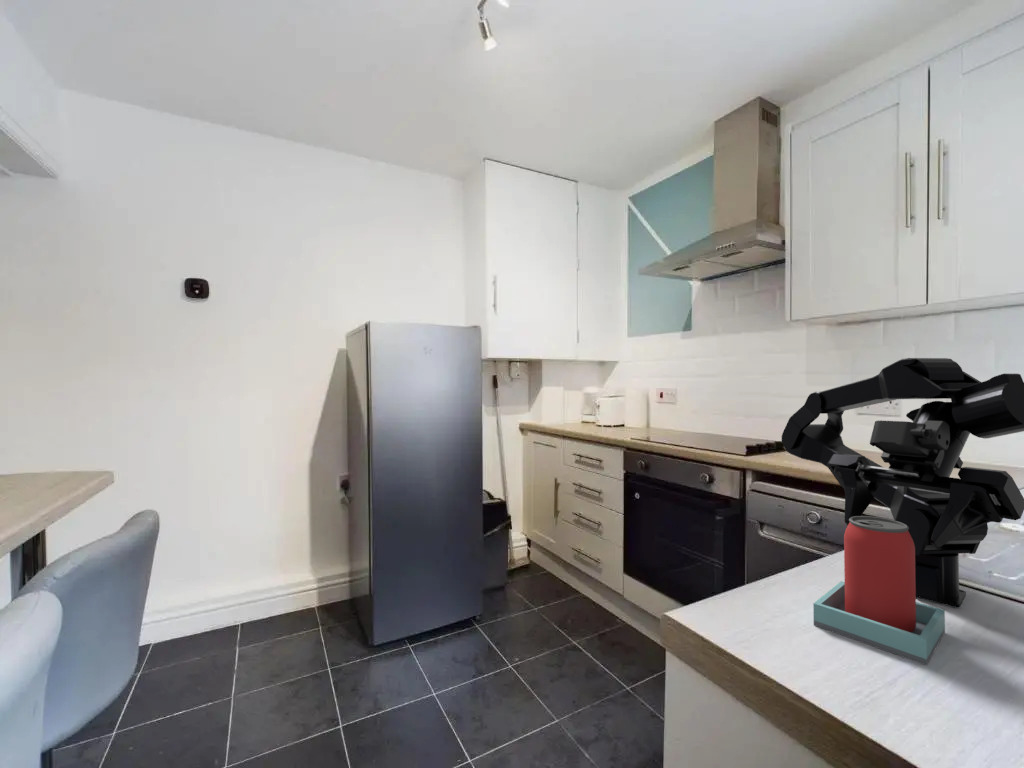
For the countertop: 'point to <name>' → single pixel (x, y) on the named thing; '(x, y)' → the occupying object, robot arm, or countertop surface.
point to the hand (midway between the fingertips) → (887, 533)
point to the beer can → (880, 571)
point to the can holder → (882, 627)
